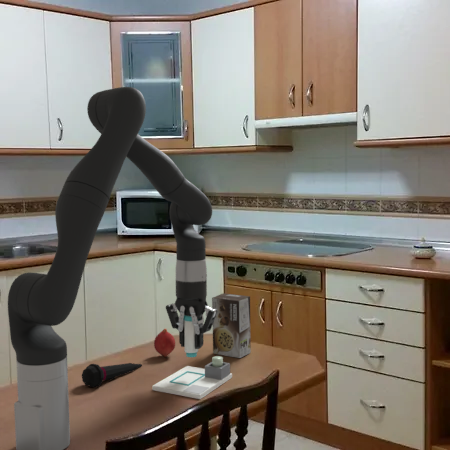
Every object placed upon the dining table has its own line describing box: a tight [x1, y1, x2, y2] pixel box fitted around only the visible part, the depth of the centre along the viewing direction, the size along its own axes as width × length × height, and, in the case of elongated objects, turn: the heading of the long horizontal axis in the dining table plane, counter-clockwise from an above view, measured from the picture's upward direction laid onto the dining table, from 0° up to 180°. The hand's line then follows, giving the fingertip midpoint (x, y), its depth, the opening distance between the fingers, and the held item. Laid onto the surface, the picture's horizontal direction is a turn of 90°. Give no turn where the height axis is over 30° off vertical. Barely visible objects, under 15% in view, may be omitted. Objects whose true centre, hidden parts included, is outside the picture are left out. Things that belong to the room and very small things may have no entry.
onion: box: [153, 327, 176, 358], centre depth 176 cm, size 6×6×8 cm
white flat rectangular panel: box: [151, 365, 233, 400], centre depth 155 cm, size 16×13×1 cm
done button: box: [211, 355, 224, 367], centre depth 158 cm, size 3×3×2 cm
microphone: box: [81, 362, 143, 389], centre depth 160 cm, size 6×6×20 cm
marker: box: [183, 315, 199, 358], centre depth 156 cm, size 4×4×10 cm
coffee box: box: [211, 292, 252, 359], centre depth 178 cm, size 9×6×16 cm
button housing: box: [204, 361, 231, 380], centre depth 158 cm, size 5×5×3 cm
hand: (191, 346), depth 157 cm, fingers closed on marker, 3 cm apart
